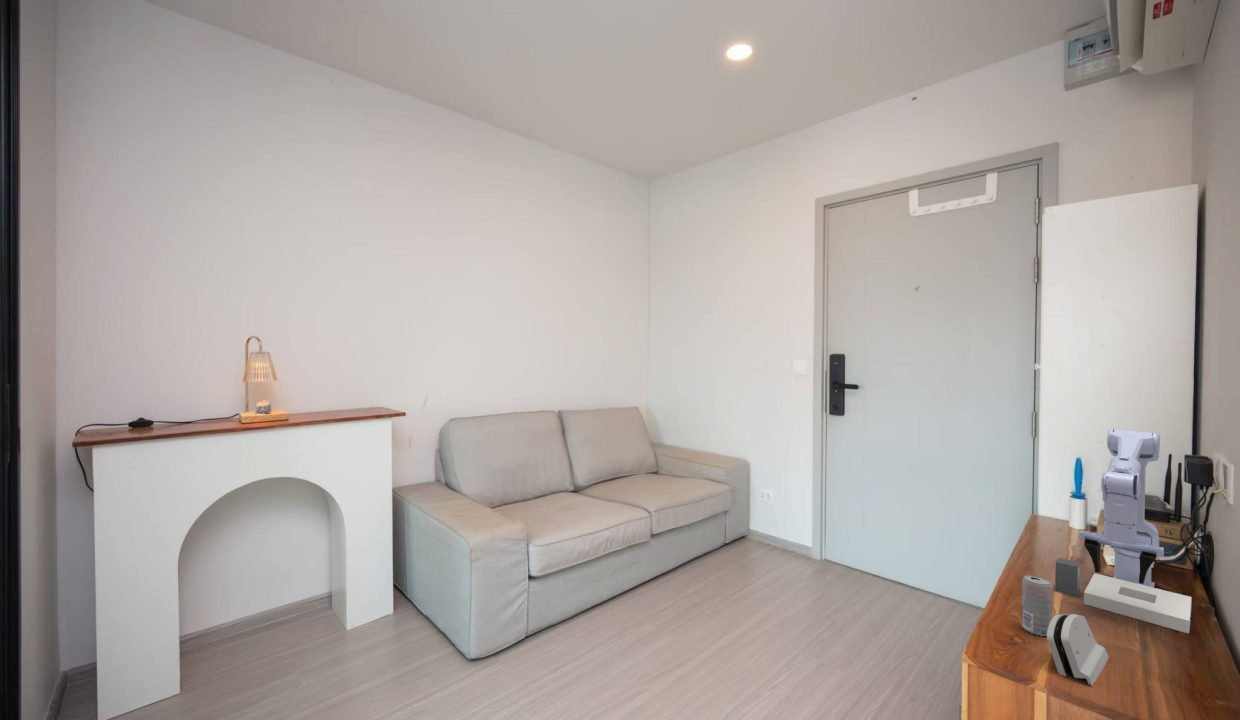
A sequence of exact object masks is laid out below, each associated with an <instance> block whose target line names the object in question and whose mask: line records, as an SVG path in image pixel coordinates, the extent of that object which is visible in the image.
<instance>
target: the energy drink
mask: <svg viewBox="0 0 1240 720" xmlns="http://www.w3.org/2000/svg"><path fill="white" fill-rule="evenodd" d="M1021 587H1022V588H1021V589H1022V590H1021V591H1022V592H1021V594H1022V595H1021V599H1022V600H1021V627H1022V628H1023V630H1025V632H1027V631H1028V632H1027V633H1029V632H1030V634H1032V633H1033V634H1032V635H1034V634H1036V635H1035V636H1038V635H1040V636H1039V637H1043V636H1047V631H1048V627H1049V624H1050V622H1051V620H1052V618H1053V584H1052V581H1051V580H1050V579H1048V578H1045V577H1042V576H1038V575H1033V574H1025V575H1024V576H1023V579H1022V585H1021Z"/></svg>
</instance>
